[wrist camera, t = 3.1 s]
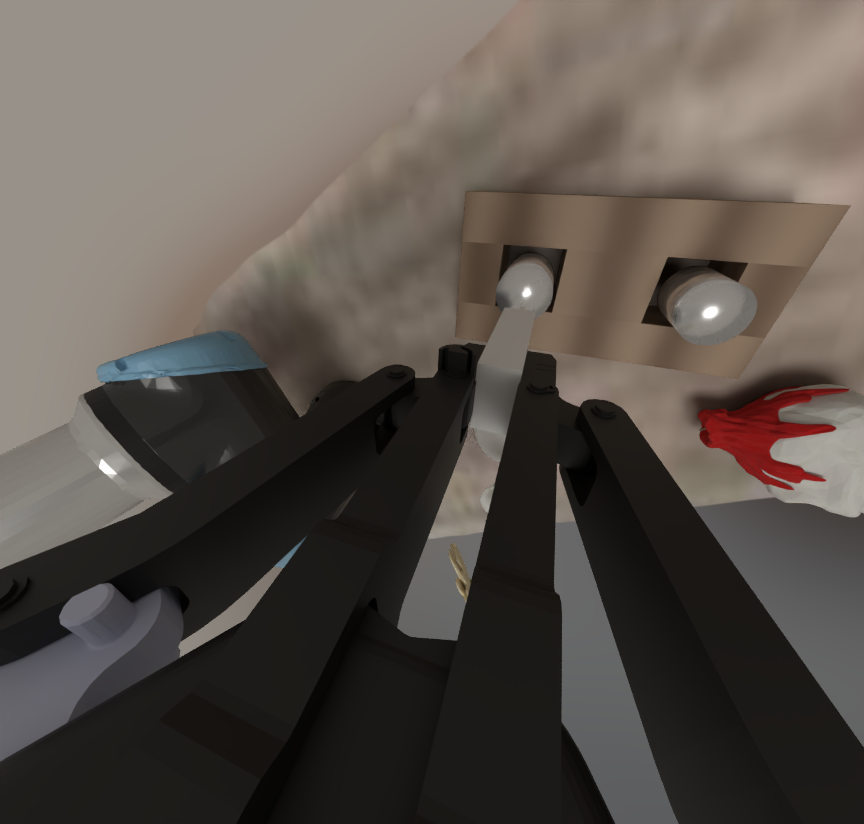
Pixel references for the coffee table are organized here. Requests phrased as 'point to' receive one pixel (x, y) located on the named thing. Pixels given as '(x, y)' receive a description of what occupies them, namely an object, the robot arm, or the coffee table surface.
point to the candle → (798, 444)
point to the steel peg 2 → (706, 305)
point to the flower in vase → (492, 448)
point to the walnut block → (636, 268)
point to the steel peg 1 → (527, 284)
